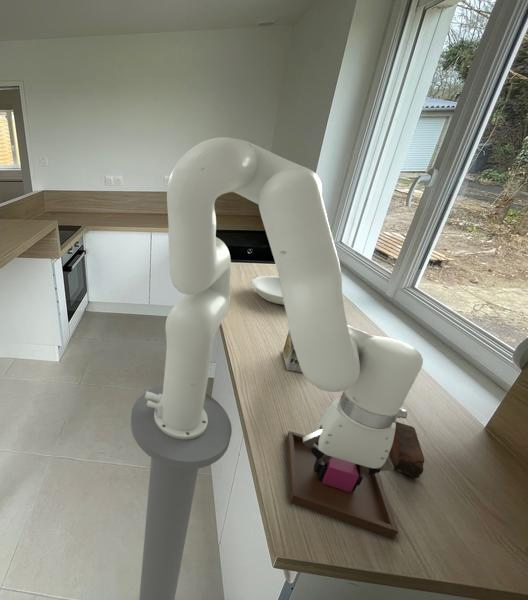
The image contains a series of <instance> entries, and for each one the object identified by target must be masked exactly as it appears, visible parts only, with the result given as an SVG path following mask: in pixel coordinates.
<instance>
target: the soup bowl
mask: <svg viewBox="0 0 528 600" xmlns="http://www.w3.org/2000/svg"><path fill="white" fill-rule="evenodd" d="M250 285H251V286H252V287H253V288H254V289H255V292H256V293H257V294H258V295H259V296H260V297H261V298H263V300H265V301H268V302H270V303H273V304H277V305H284V301H283V296H282V291H281V283H280V278H279V275H270V274H269V275H268V274H267V275H258V276H255V277H253V278H251V280H250Z"/></svg>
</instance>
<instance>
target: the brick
mask: <svg viewBox="0 0 528 600" xmlns="http://www.w3.org/2000/svg"><path fill="white" fill-rule="evenodd" d="M395 423H396V429H395V435H394V440H393V444H392V447H391V450H390V453H389V457H390V459H391V461H392V463H393V466H394V470H393V471H396V472H398V473H402V474H405V475H407V476H408V477H410V478H411V479H413V480H415V479H419V478H420V476H421V475H422V473H423V472H424V464H425V457H424V453H423V450H422V447H421V444H420V441H419V438H418V434H417V432H416V429H415V427H414V426H412V425H409V424H405V423H402V422H399V421H397V420H396V421H395Z"/></svg>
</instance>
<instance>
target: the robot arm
mask: <svg viewBox="0 0 528 600" xmlns="http://www.w3.org/2000/svg"><path fill="white" fill-rule="evenodd" d="M229 193H235V194H236V195H239V196H241V197H243V198H244V199H247V200H249V201H251V202H252V203H255V204H256V205H258V211H259V214H260V217H261V220H262V223H263V224H262V225H263V227H264V230H265V235H266V237H267V240H268V243H269V247H270V251H271V254H272V256H273V260H274V263H275V267H276V271H277V275H278V276H279V278H280V283H281V291H282V296H283V301H284V304H283V306H284V310H285V314H286V320H287V325H288V331H290V335H291V339H292V343H293V346H294V349H295V352H296V356H297V359H298V362H299V365H300V368H301V370H302V372H301V373H302V374H303V376H304V377H305V379H306V380H307V381H308V382H309V383H310V384H311V385H312V386H314V387H316V388H317V389H319V390H321V391H324V392H329V393H340V392H342V394H341V396H340V398H335V399H333V401H332V402H331V403H330V404H329V405H328V407H327V408H326V409H325V411H324V413H323V415H322V416H321V418H320V420H319V421H318V424H317V426H316V428H315V431H313V432H311V433H309V434H306V435H305V436H304V437H303V438H302V439H303V444H304V445H305V446H306V447H307V448H308V449H309V450H311V451H312V453H313V455H314V456H315V457H316V458H317V459H316V462H315V464H314V472H317V477H318V480H320V481H322V480H323V477H324V475H325V473H326V470H327V462H328V461H329V460H330V459H331V458H332V457H335V458H338V459H342V460H345V461H348V462H352V463H355V464H356V467H357V470H358V474H359V477H358V479H357V481H356V483H355V485H354V487H353V489H352V491H355V489H356V487H357V485H358V486H359V485H360V483H361V481H362V479H363V478H367V477H368V475H369V474H374V473H379V474H380V472H389V471H395V470H394V466H393V463H392V461H391V457H390V450H391V447H392V444H393V440H394V435H395V429H396V423H395V421H396V422H397V419H400V418H401V419H407V417H408V411H407V409H403V408H402V406H403V404H404V403H405V400H406V399H407V397H408V394H409V393H410V391H411V389H412V387H413V385H414V383H415V381H416V379H417V377H418V375H419V374H420V372H421V369H422V367H423V363H424V359H423V357H422V354H421V353H420V351H418V349H416V347H414V346H412V345H410V344H408V343H406V342H405V341H402V340H398V339H395V338H392V337H387V336H376V335H374V334H372V333H368V332H366V331H363V330H360V329H359V328H356V327H353V326H350V325H349V324H348V321H347V317H346V312H345V305H344V296H343V278H342V270H341V269H342V268H341V264H340V263H341V262H340V259H339V255H338V252H337V249H336V245H335V241H334V237H333V234H332V230H331V226H330V223H329V219H328V214H327V211H326V207H325V202H324V199H323V195H322V193H323V186H322V182H321V179H320V177H319V176H318V174H317V173H316V172H314V170H312V169H310V168H308V167H306V166H303V165H301V164H298V163H296V162H293V161H291V160H289V159H287V158H284V157H282V156H280V155H278V154H276V153H274V152H272V151H270V150H267V149H265V148H263V147H261V146H259V145H256V144H254V143H252V142H249V141H247V140H244V139H242V138H241V139H240V138H234V137H228V136H227V137H226V136H218V137H214V138H209V139H206V140H203V141H201V142H199V143H198V144H196V145H194V146H193V147H191V148H190V149H189V150H188V151H185V153H184V154H183V155H182V156H181V157H179V160H178V161H177V162H176V163H175V165H174V167H173V168H172V171H171V172H170V175H169V178H168V181H167V185H166V207H167V220H168V221H167V223H168V258H169V261H168V263H169V264H168V265H169V276H170V280H171V283H172V286H173V287H174V288H175V290H177V291H178V292H179V293H181V294H183V295H184V296H183V297H182V298H181V299H180V300H179V301H177V302H176V304H175V305H174V306H173V307H172V308H171V309H170V311H169V312H168V314H167V317H166V320H165V326H164V329H165V339H166V350H165V364H164V374H163V375H164V376H163V385H162V386H163V394H159V395H156V394H154V393H151V392H148V390H146V391H145V392H146V394H145V399H147V400H150V401H147V406H148V407H151V408H155V411H154V419H155V422H156V424H157V426H158V427H159V428H160V429H161V430H162V431H163V432H164V433H165V434H167V435H169V436H171V437H174V438H177V439H193V438H196V437H198V436H200V435H201V434H202V433H204V431H205V430H206V427H207V423H208V417H207V414H206V412H205V410H204V409H203V406H204V400H205V394H207V387H208V382H209V377H210V369H211V364H212V363H211V362H212V353H213V351H212V350H213V349H212V345H213V340H214V337H215V334H216V332H217V331H218V328H220V326H221V324H222V322H223V321H224V320H225V318H226V316H227V315H228V312H229V310H230V302H231V301H230V300H231V274H232V259H231V254H230V251H229V248H228V246H227V245H226V243H225V242H224V241H223V240H222V239H220V238H219V237H217V236H216V235H217V215H216V210H215V203H216V200H217V199H218V198H219V197H220V196H223V195H225V194H229ZM152 401H155V402H157V403H154V402H152ZM317 442H318V444H319V445H317V444H316V443H317Z"/></svg>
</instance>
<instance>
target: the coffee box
mask: <svg viewBox="0 0 528 600" xmlns="http://www.w3.org/2000/svg"><path fill="white" fill-rule="evenodd" d="M282 357H283V361H284V364H285V368H286V370H288V371H292V372H298V373H303V372H302V370H301V368H300V365H299V362H298V359H297V356H296V352H295V349H294V346H293V343H292V339H291V335H290V331H289V330H288V332H287V336H286V340H285V343H284V347H283V351H282Z"/></svg>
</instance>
